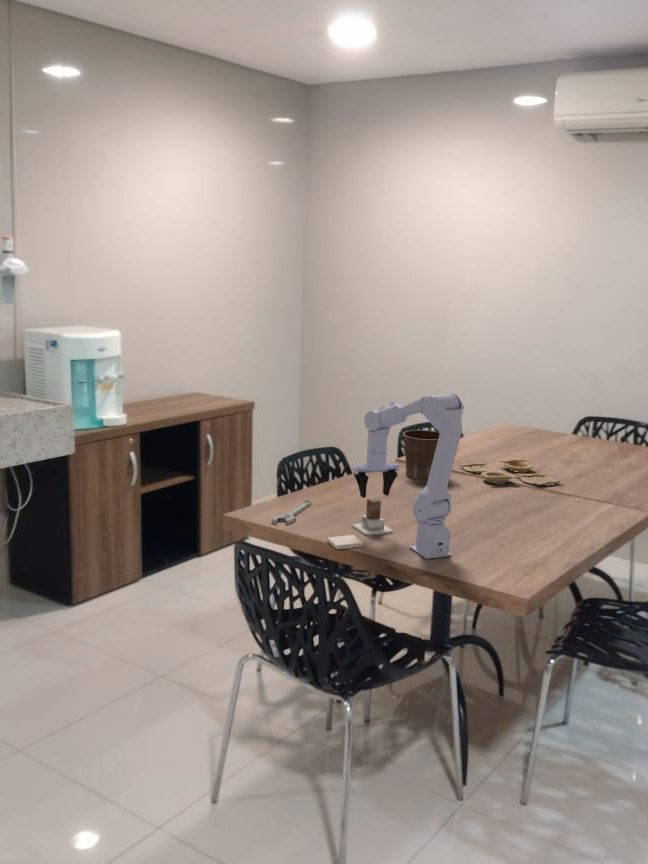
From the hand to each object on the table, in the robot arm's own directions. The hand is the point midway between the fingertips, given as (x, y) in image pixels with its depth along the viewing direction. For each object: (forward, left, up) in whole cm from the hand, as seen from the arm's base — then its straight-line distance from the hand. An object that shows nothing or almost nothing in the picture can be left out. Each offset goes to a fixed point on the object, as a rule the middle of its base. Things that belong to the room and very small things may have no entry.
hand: (374, 495), depth 247 cm
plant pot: (+51, -48, -11) cm, 71 cm away
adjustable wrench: (+21, +16, -11) cm, 29 cm away
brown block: (0, 0, -10) cm, 10 cm away
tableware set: (+42, -81, -11) cm, 92 cm away
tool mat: (0, 0, -10) cm, 10 cm away
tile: (-9, +10, -10) cm, 17 cm away
